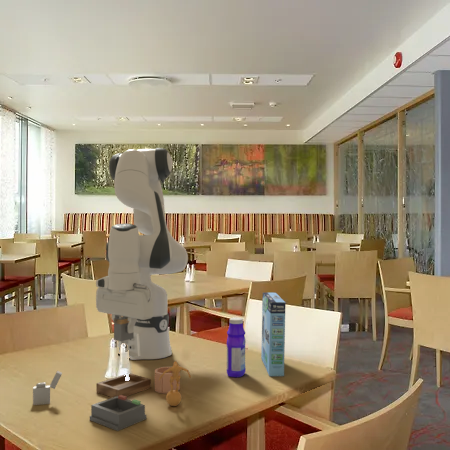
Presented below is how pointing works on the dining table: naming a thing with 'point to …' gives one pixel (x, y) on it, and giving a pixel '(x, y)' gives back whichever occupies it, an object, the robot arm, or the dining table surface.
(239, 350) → the bottle
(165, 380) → the pink octagonal pot
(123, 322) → the battery
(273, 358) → the gum box
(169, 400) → the figurine
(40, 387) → the lighter
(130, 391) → the brown wooden tray
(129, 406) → the tray
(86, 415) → the dining table surface
